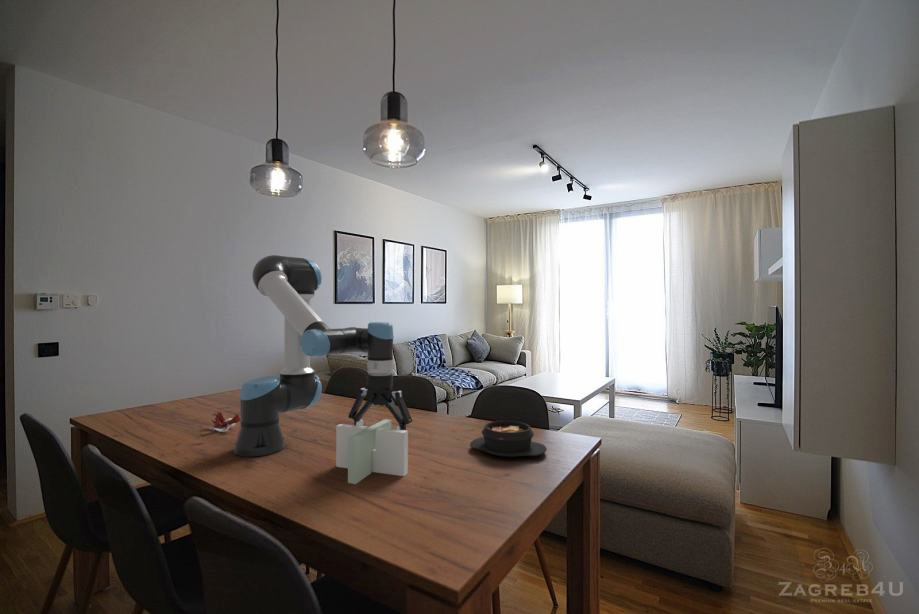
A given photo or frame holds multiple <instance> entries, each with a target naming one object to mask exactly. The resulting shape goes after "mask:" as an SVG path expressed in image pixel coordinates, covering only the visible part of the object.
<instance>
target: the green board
mask: <svg viewBox="0 0 919 614" xmlns="http://www.w3.org/2000/svg"><path fill="white" fill-rule="evenodd" d="M378 428H387V429H392V419H387V418H385V419H383V420H381V421H379V422H376V423H375V424H373V425H371V426H368V428H366V429H365V430H363V431H361V432H359V433H357V434H355V435H353V436H351V437H349V438H348V468H347V484H352V485H357V484H359V482H361V481H362V480H364V479H365V478H367V477H368V476H369V475H371V474H372V472H371V452H372V451H373V450H375V442H376V429H378Z"/></svg>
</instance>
